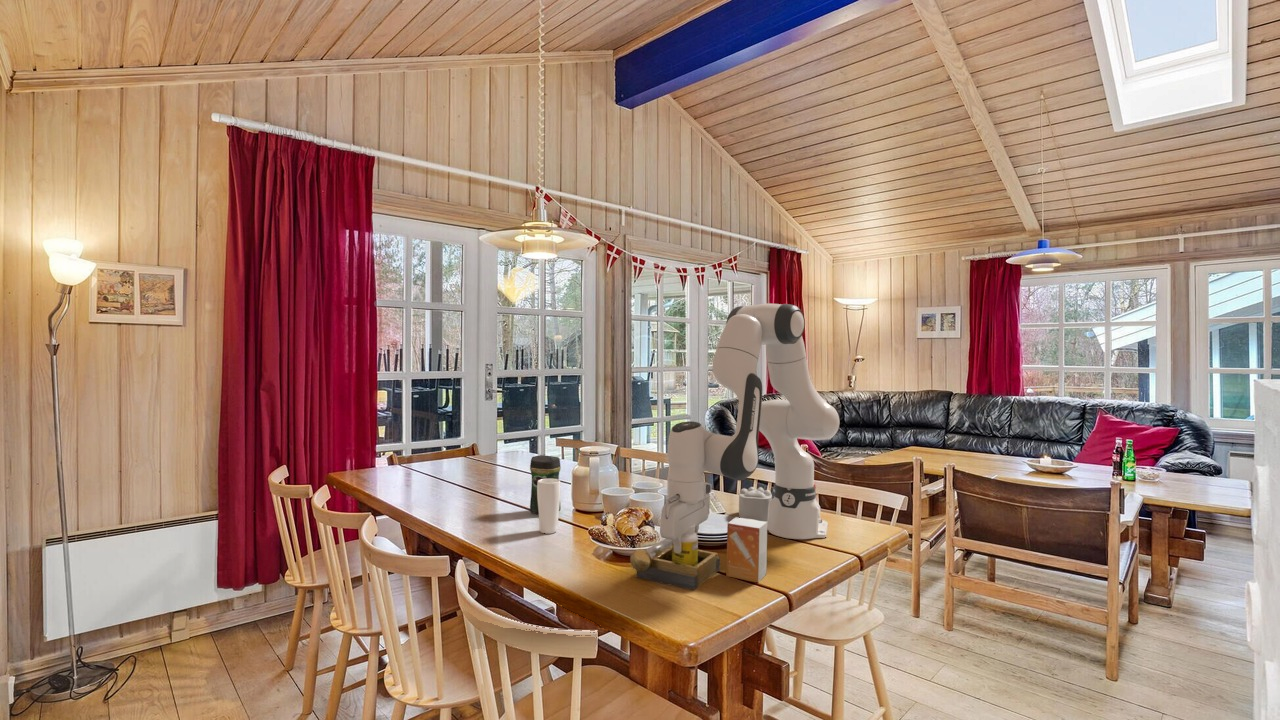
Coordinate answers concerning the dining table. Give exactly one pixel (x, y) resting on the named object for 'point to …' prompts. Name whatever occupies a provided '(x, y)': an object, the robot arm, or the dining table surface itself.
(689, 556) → the pill bottle
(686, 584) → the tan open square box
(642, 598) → the dining table surface
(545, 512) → the drinking glass
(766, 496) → the lumpy-topped squat cylinder
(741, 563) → the small box
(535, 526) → the dining table surface
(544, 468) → the coffee jar
